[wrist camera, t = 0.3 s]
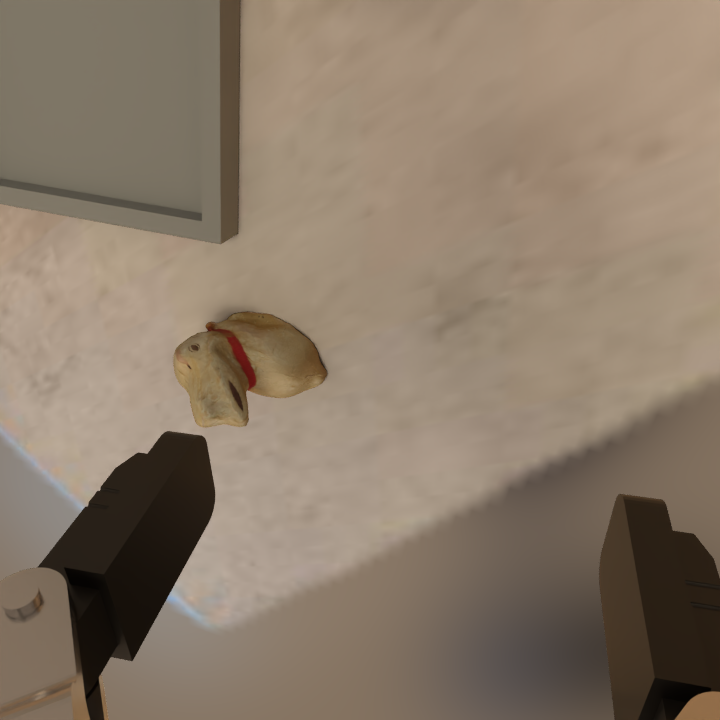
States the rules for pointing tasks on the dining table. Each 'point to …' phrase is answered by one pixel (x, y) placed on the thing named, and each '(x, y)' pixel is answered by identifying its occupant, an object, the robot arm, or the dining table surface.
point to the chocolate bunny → (244, 366)
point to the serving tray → (123, 112)
